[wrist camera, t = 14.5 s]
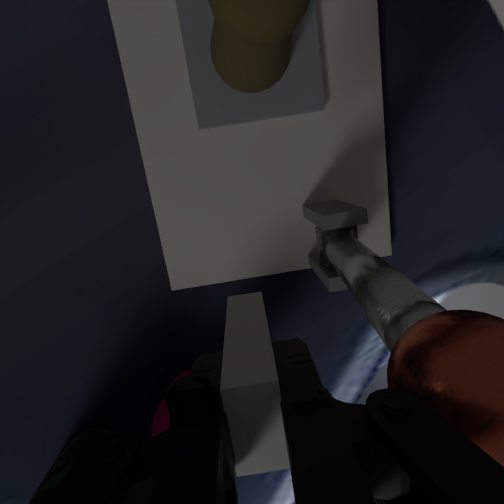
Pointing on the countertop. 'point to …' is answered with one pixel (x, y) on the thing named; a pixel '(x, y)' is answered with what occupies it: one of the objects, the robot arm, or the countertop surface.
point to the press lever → (427, 341)
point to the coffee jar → (67, 462)
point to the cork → (253, 40)
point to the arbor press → (257, 141)
